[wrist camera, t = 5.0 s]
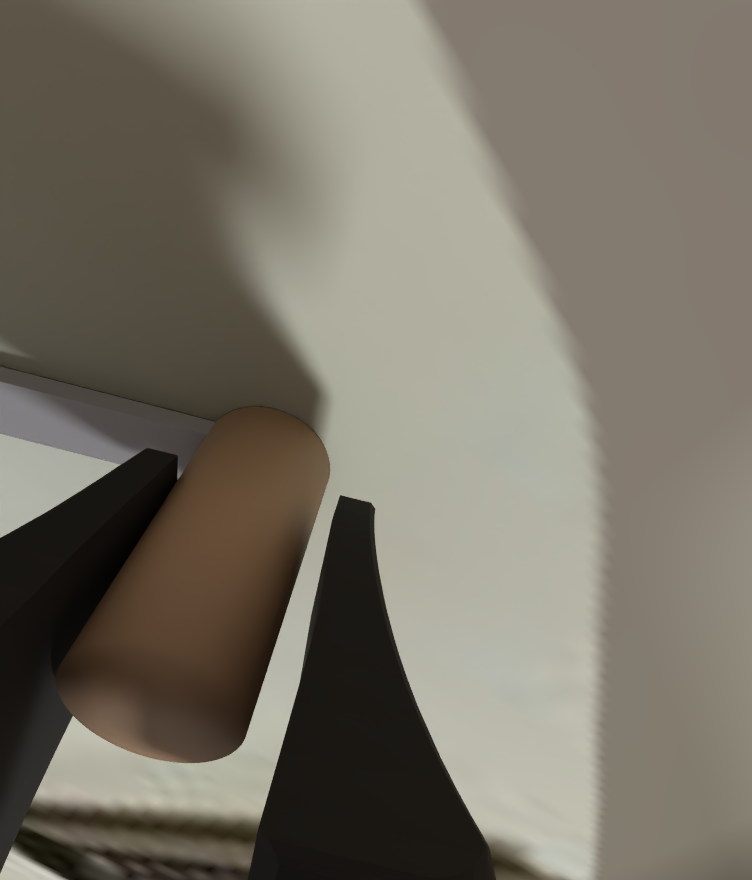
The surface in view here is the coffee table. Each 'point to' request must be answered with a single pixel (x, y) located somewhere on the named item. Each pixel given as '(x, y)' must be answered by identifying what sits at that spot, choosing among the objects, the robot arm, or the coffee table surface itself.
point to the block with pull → (183, 565)
